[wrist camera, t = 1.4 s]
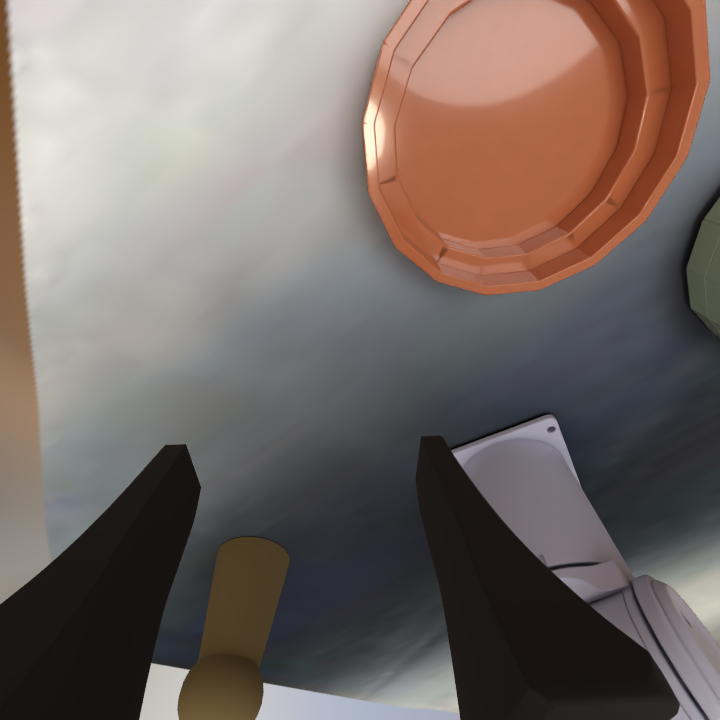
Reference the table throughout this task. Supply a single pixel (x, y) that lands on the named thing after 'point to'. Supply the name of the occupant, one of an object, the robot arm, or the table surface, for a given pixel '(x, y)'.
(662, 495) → the table surface
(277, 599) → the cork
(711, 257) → the celadon bowl
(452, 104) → the terracotta bowl
